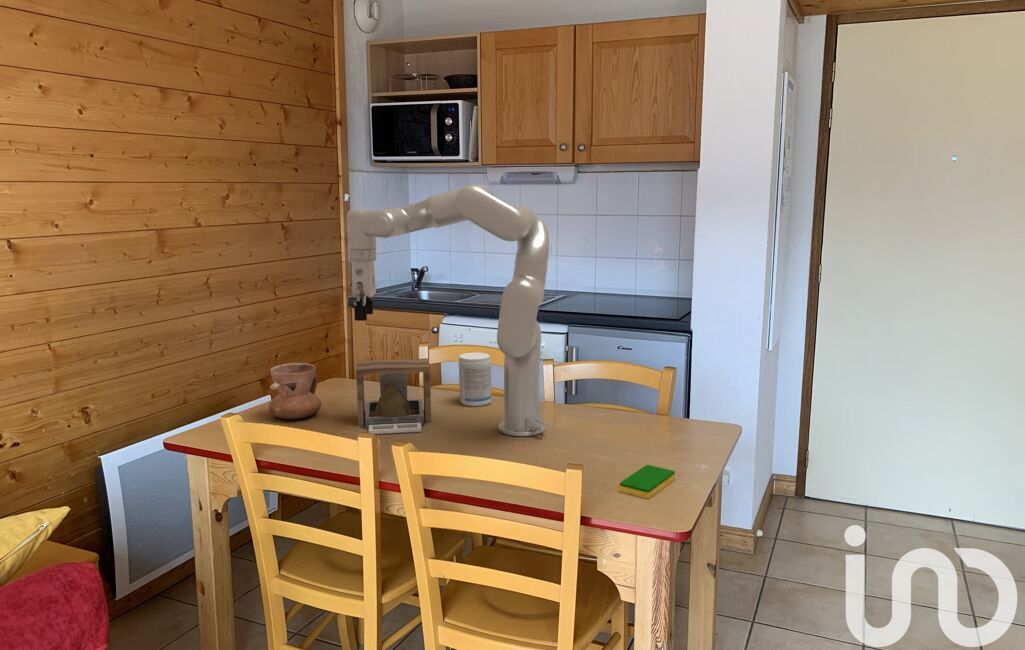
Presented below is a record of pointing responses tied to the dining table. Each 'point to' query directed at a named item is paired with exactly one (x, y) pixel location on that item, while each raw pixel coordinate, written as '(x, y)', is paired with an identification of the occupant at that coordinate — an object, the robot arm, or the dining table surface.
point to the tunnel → (389, 368)
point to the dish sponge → (647, 481)
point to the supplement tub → (475, 379)
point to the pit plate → (395, 428)
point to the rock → (392, 403)
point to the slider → (401, 384)
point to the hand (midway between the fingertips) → (364, 317)
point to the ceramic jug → (294, 391)
